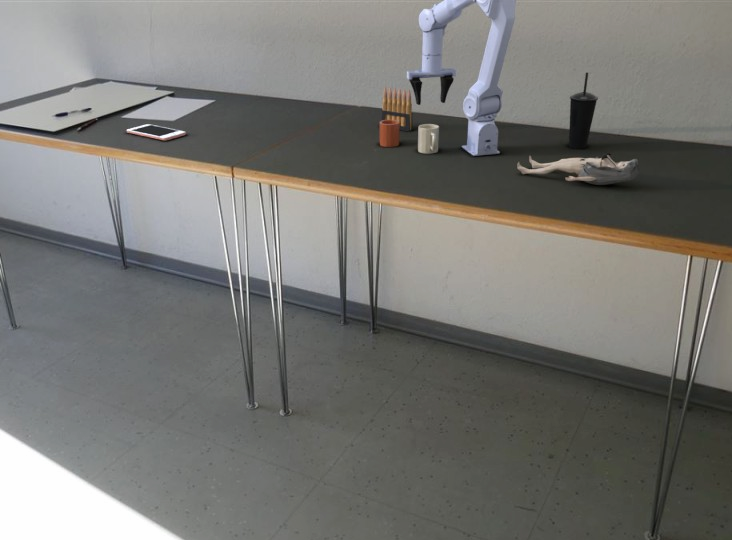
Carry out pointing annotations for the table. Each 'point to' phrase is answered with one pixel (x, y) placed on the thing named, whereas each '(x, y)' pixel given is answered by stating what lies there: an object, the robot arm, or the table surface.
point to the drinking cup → (581, 117)
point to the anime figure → (589, 169)
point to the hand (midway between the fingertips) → (430, 103)
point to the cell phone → (156, 132)
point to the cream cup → (428, 138)
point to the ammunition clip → (398, 108)
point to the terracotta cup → (389, 133)
